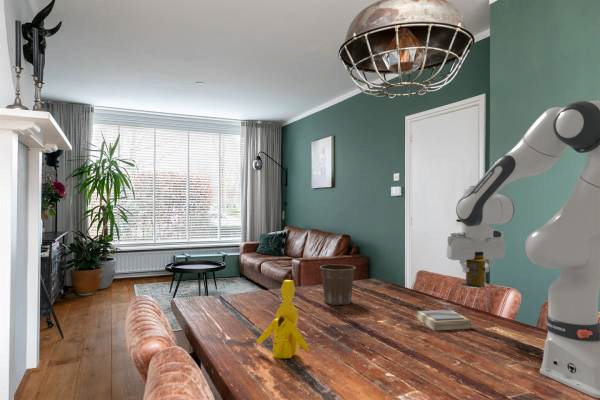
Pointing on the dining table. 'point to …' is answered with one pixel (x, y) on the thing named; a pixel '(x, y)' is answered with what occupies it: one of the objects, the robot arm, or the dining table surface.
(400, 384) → the dining table surface
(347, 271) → the plant pot
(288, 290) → the figure statuette
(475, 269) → the condiment
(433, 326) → the base
